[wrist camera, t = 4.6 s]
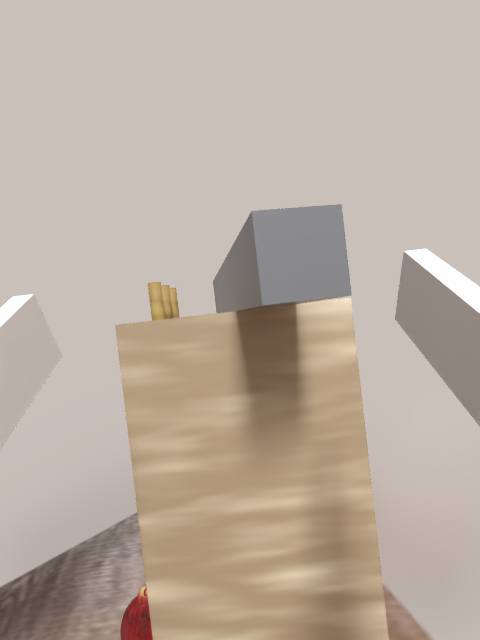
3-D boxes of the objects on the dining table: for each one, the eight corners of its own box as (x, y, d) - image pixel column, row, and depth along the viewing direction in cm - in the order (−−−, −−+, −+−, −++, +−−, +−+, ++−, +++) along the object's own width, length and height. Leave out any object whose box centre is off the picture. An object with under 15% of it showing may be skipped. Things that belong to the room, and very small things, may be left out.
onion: (175, 676, 38) (166, 603, 38) (120, 689, 38) (110, 615, 38) (177, 629, 44) (170, 566, 44) (129, 640, 43) (121, 575, 43)
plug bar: (217, 315, 42) (213, 281, 42) (250, 311, 42) (246, 277, 42) (262, 305, 15) (251, 210, 15) (351, 295, 16) (341, 204, 16)
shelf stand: (204, 669, 39) (160, 293, 38) (352, 655, 38) (309, 275, 38) (180, 869, 25) (109, 281, 24) (412, 851, 24) (345, 253, 24)
